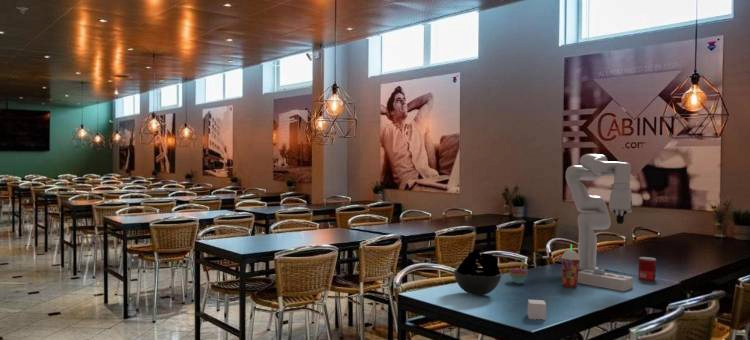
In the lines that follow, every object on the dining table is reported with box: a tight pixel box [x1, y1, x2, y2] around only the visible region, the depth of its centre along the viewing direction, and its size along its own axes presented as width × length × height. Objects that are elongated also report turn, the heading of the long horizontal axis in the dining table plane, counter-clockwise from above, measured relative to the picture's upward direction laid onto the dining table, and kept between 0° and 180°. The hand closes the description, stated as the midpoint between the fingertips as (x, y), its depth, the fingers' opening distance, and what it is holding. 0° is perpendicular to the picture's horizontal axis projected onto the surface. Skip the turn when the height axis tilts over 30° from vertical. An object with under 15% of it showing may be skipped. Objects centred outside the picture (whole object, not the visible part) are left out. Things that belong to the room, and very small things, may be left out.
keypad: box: [577, 270, 634, 292], centre depth 284 cm, size 23×11×5 cm, turn 46°
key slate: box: [593, 268, 606, 275], centre depth 286 cm, size 4×4×4 cm
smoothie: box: [561, 244, 580, 289], centre depth 279 cm, size 8×8×20 cm
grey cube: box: [526, 299, 547, 321], centre depth 222 cm, size 6×6×6 cm
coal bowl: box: [453, 249, 502, 297], centre depth 254 cm, size 20×20×19 cm
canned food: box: [637, 256, 657, 282], centre depth 302 cm, size 8×8×11 cm
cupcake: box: [509, 259, 528, 284], centre depth 283 cm, size 9×8×12 cm
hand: (619, 223), depth 294 cm, fingers closed
